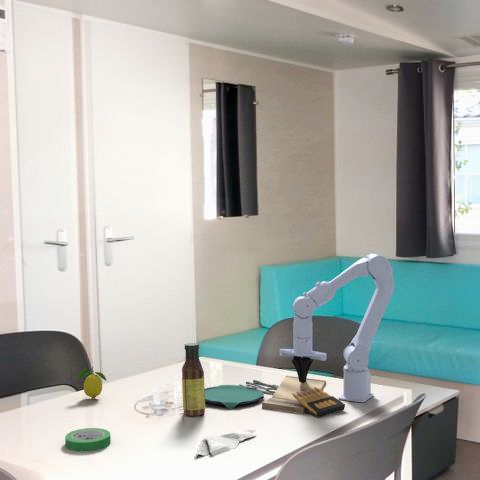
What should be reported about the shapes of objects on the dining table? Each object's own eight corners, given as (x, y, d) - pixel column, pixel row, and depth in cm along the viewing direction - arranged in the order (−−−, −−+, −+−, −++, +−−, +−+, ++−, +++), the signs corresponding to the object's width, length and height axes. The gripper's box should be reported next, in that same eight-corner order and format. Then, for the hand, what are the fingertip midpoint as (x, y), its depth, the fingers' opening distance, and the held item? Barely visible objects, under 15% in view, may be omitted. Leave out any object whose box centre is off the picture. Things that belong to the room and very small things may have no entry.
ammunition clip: (318, 412, 215) (290, 391, 223) (316, 418, 215) (289, 396, 224) (345, 404, 221) (317, 384, 230) (344, 410, 222) (316, 389, 230)
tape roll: (70, 455, 187) (70, 444, 187) (61, 441, 197) (61, 431, 197) (115, 448, 191) (115, 438, 191) (104, 435, 201) (104, 425, 201)
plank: (287, 379, 240) (286, 375, 239) (326, 384, 234) (325, 380, 233) (272, 401, 231) (271, 396, 230) (313, 406, 225) (312, 402, 224)
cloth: (242, 428, 208) (242, 419, 208) (279, 440, 198) (279, 431, 198) (165, 451, 191) (165, 442, 190) (201, 465, 181) (201, 456, 180)
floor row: (271, 402, 230) (271, 397, 230) (311, 408, 224) (311, 402, 224) (262, 407, 225) (262, 402, 225) (303, 413, 219) (303, 408, 219)
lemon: (77, 400, 233) (77, 367, 233) (88, 395, 239) (88, 363, 238) (96, 402, 231) (96, 369, 230) (107, 397, 236) (106, 365, 236)
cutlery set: (183, 399, 234) (183, 392, 234) (251, 383, 256) (251, 376, 255) (230, 414, 220) (230, 406, 220) (298, 395, 242) (298, 387, 242)
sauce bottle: (209, 413, 219) (209, 343, 218) (193, 418, 215) (193, 347, 213) (193, 409, 224) (193, 340, 222) (177, 413, 219) (176, 344, 218)
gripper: (275, 337, 233) (275, 381, 234) (320, 341, 226) (320, 387, 227) (285, 333, 239) (284, 376, 240) (329, 337, 232) (328, 382, 233)
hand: (302, 381), depth 234 cm, fingers closed, pressing on plank
